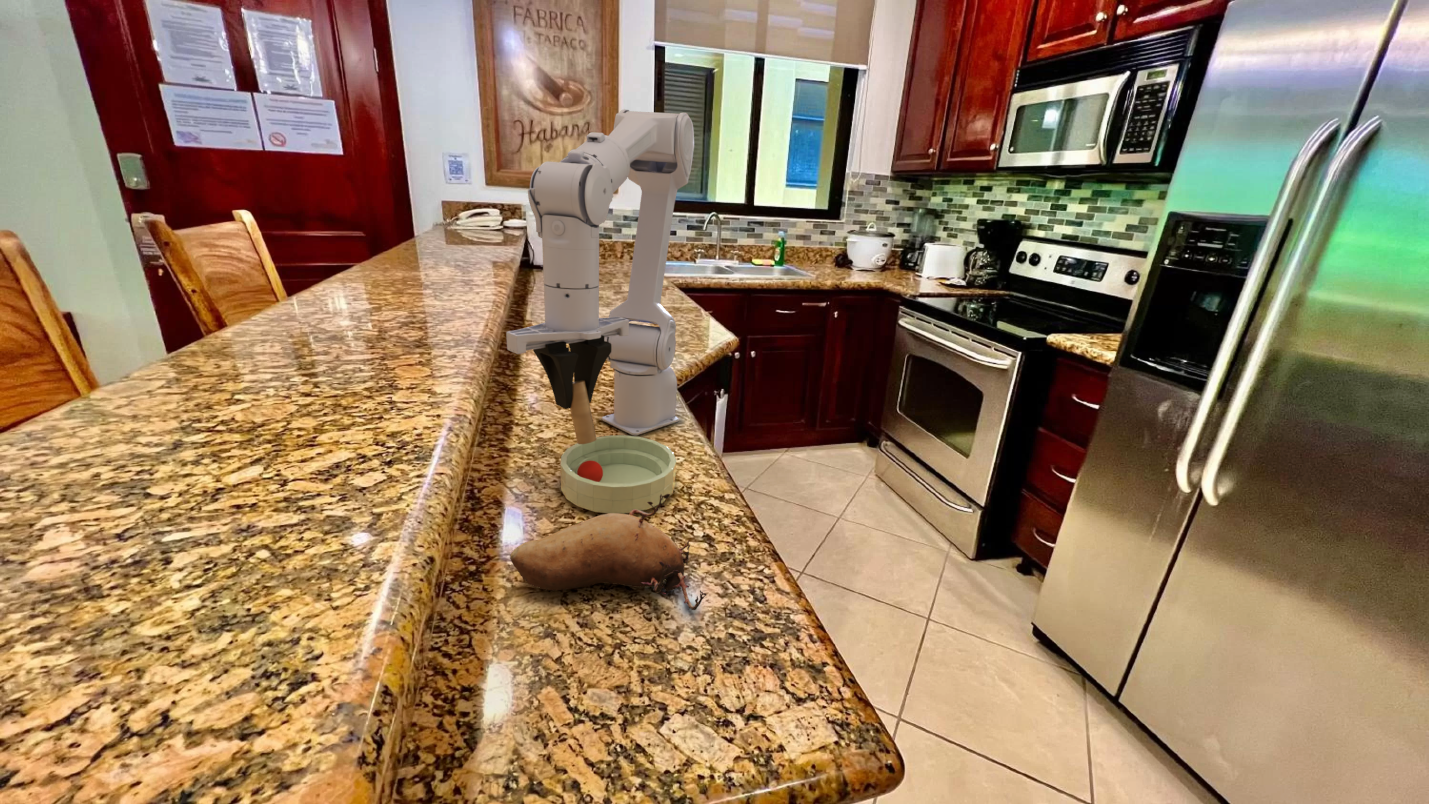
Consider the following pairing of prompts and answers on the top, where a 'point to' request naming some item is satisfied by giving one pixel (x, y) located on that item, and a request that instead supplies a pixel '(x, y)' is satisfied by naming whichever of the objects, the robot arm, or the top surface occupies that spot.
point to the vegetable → (605, 555)
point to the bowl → (619, 474)
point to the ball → (590, 471)
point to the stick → (582, 414)
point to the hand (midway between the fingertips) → (573, 403)
